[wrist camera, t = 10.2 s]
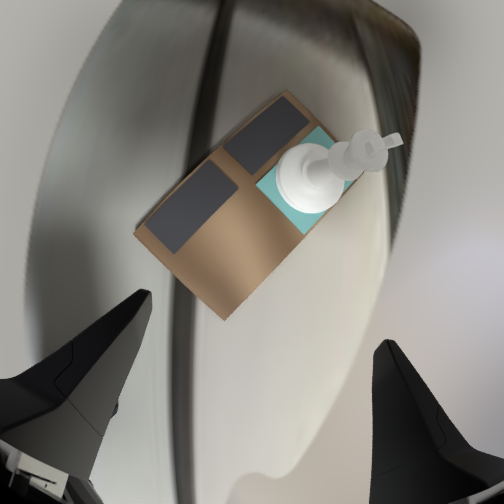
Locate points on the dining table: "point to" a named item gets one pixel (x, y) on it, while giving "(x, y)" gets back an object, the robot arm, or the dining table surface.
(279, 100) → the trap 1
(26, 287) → the dining table surface
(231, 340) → the dining table surface
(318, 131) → the pad
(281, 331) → the dining table surface
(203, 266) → the walnut board
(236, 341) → the dining table surface
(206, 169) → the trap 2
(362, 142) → the chess piece
